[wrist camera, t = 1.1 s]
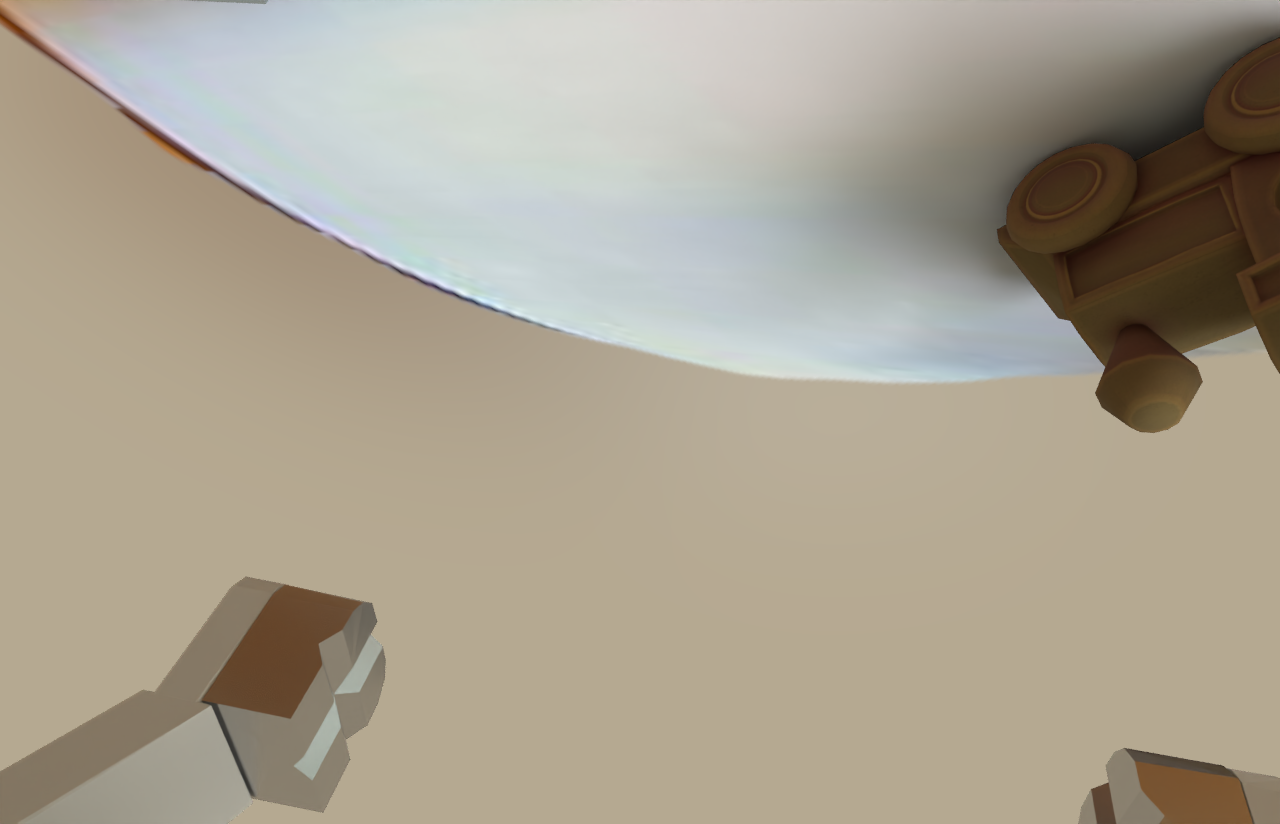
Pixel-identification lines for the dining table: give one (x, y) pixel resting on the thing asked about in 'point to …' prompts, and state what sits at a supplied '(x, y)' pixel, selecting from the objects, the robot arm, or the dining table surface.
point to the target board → (238, 1)
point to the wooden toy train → (1162, 244)
